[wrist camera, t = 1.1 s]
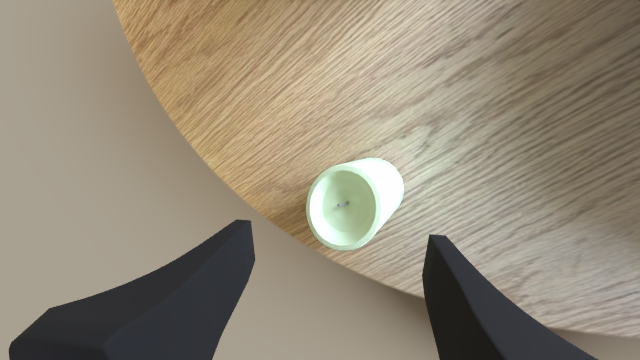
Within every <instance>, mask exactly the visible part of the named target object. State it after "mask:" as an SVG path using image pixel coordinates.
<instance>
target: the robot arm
mask: <svg viewBox="0 0 640 360" xmlns="http://www.w3.org/2000/svg"><path fill="white" fill-rule="evenodd" d="M254 262H255V253H254V245H253V236H252V227H251V221H248V220H235V221H234V222H232V223H231V224H229V225H228V226H226V227H225V228H223V229H222V230H220V231H219V232H218V233H216V234H215V235H213V236H212V237H210V238H209V239H207V240H206V241H204V242H203V243H202V244H200V245H199V246H197V247H195V248H194V249H192V250H191V251H189V252H187V253H186V254H185V255H182V256H181V257H179V258H178V259H176V260H174V261H172V262H170V263H169V264H167V265H165V266H163V267H161V268H159V269H157V270H155V271H153V272H151V273H149V274H147V275H145V276H142V277H140V278H137V279H135V280H133V281H131V282H128V283H126V284H124V285H121V286H118V287H116V288H113V289H110V290H108V291H105V292H102V293H99V294H96V295H93V296H91V297H87V298H84V299H81V300H77V301H74V302H70V303H67V304H64V305H60V306H56V307H53V308H49V309H48V310H47V311H46V312H45V313H44V314H43V315H42V316H40V317H39V318H38V319H37V320H36V321H35V322H34V323H33V324H32V325H30V326H29V327H28V328H27V329H26V330H25V331H24V332H23V333H22V334H20V335H19V336H18V337H17V338H16V339H15V340H14V341H13V342H12V343H11V345H10V347H9V357H10V360H212V358H213V356H214V353H215V350H216V348H217V345H218V342H219V339H220V337H221V335H222V333H223V330H224V329H225V326H226V324H227V322H228V320H229V318H230V316H231V314H232V312H233V311H234V309H235V307H236V305H237V303H238V301H239V298H240V297H241V294H242V292H243V290H244V288H245V286H246V284H247V282H248V279H249V277H250V274H251V271H252V268H253V265H254ZM422 278H423V287H424V295H425V301H426V306H427V310H428V314H429V318H430V322H431V326H432V329H433V334H434V337H435V341H436V345H437V349H438V353H439V358H440V360H598V359H596V358H594V357H593V356H591V355H589V354H587V353H586V352H584V351H583V350H581V349H579V348H578V347H576V346H574V345H573V344H571V343H569V342H568V341H566V340H565V339H563V338H561V337H560V336H558V335H557V334H555V333H554V332H552V331H551V330H549V329H548V328H546V327H545V326H544V325H542V324H541V323H539V322H538V321H536V320H535V319H533V318H532V317H531V316H529V315H528V314H527V313H525V312H524V311H523V310H522V309H520V308H519V307H518V306H517V305H515V304H514V303H513V302H512V301H510V300H509V299H508V298H507V297H505V296H504V295H503V294H502V293H501V292H500V291H499V290H497V289H496V288H495V287H494V286H493V285H492V284H491V283H490V282H489V281H488V280H487V279H486V278H485V277H484V276H483V275H482V274H481V273H480V272H479V271H478V270H477V269H476V268H475V267H474V266H473V265H472V264H471V263H470V262H469V261H468V260H467V259H466V258H465V257H464V256H463V254H462V253H461V252H460V251H459V250H458V249H457V248H456V247H455V245H454V244H453V243H452V242H451V241H450V240H449V239H448V238H447V237H446V236H442V235H429V240H428V245H427V251H426V257H425V262H424V268H423V274H422Z"/></svg>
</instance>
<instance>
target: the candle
mask: <svg viewBox="0 0 640 360" xmlns="http://www.w3.org/2000/svg"><path fill="white" fill-rule="evenodd" d="M403 194H404V185H403V180H402V178H401V176H400V173H399V172H398V171H397V169H396V168H395V167H394V166H393V165H392V164H390V163H389V162H387V161H385V160H383V159H380V158H371V157H370V158H365V159H360V160H356V161H352V162H348V163H343V164H339V165H335V166H332V167H330V168H328V169H326V170H325V171H323V172H322V173H321V174H320V175H319V176H318V177H317V178H316V179H315V181H314V182H313V184H312V185H311V188H310V190H309V193H308V195H307V202H306V216H307V220H308V223H309V227H310V229H311V230H312V232H313V234H314V236H315V237H316V238H317V239H318V240H319V241H320V242H321V243H322V244H324V245H325V246H327V247H329V248H330V249H334V250H337V251H352V250H354V249H357V248H360V247H362V246H363V245H364V244H366V243H367V242H368V241H370V239H371V238H372V237H373V236H374V235H375V234H376V233H377V231H378V230H379V229H380V228H381V227H382V226H383V224H384V223H385V222H386V221H387V220H388V219H389V218H390V216H391V215H392V214H393V213H394V212H395V211H396V209H397V208H398V207H399V205H400V204H401V201H402V199H403Z"/></svg>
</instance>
